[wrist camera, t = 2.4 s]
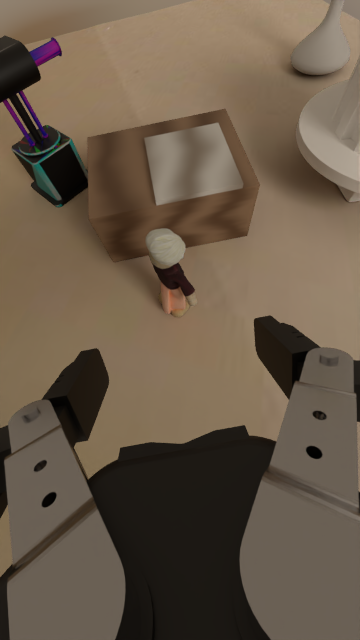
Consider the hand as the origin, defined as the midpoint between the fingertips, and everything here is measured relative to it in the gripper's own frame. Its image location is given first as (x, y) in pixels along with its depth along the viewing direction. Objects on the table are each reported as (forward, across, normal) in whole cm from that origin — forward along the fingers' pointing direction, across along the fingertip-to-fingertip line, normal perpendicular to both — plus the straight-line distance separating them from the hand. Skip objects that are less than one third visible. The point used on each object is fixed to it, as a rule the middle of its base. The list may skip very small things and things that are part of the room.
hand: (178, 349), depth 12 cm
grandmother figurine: (+18, 0, +4) cm, 19 cm away
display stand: (+30, -2, -8) cm, 31 cm away
